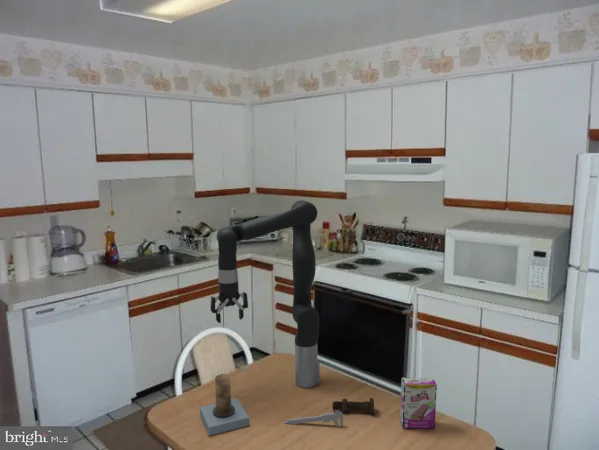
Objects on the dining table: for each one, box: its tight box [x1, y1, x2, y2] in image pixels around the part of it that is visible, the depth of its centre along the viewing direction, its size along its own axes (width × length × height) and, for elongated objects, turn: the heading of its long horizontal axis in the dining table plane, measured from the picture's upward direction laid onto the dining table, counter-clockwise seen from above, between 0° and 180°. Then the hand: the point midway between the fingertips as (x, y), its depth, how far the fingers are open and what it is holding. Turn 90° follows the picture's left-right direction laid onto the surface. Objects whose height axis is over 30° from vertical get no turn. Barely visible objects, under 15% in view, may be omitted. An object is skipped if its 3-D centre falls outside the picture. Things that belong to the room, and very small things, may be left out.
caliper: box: [284, 410, 344, 428], centre depth 156 cm, size 20×1×6 cm, turn 84°
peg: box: [213, 373, 235, 418], centre depth 159 cm, size 8×8×16 cm
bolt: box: [331, 397, 375, 416], centre depth 164 cm, size 6×5×15 cm
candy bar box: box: [399, 377, 438, 430], centre depth 154 cm, size 11×5×16 cm, turn 89°
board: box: [199, 398, 250, 436], centre depth 160 cm, size 14×14×3 cm
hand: (230, 320), depth 175 cm, fingers open, 8 cm apart
